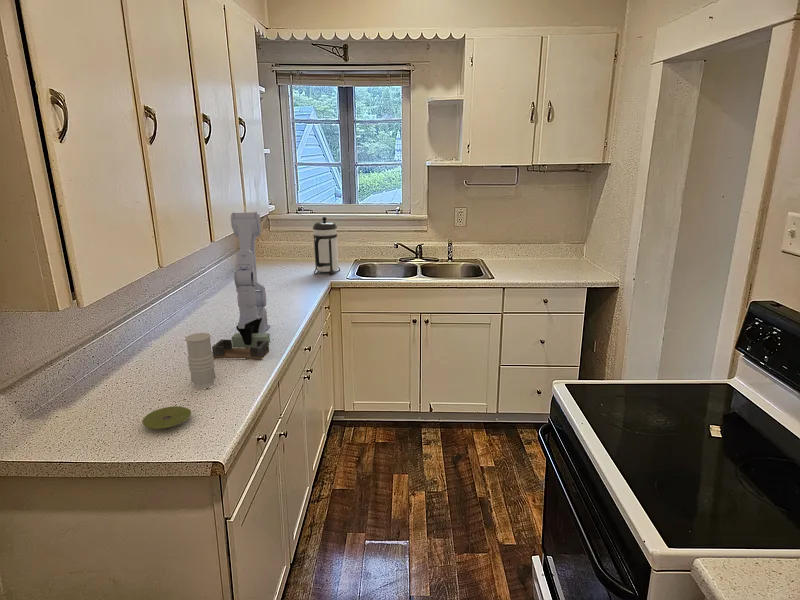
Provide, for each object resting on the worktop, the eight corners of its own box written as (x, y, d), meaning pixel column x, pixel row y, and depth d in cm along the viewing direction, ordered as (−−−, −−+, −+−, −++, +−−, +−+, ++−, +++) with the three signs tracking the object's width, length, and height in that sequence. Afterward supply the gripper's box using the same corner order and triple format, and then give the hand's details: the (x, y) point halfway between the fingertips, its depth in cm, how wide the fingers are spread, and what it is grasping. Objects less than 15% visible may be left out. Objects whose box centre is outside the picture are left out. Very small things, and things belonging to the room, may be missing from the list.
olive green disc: (178, 408, 141) (177, 401, 140) (200, 422, 134) (199, 415, 133) (135, 424, 133) (134, 418, 132) (156, 440, 126) (155, 433, 125)
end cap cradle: (222, 350, 180) (221, 339, 179) (269, 351, 178) (268, 340, 177) (213, 358, 174) (211, 347, 172) (261, 359, 172) (260, 348, 171)
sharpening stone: (236, 343, 187) (235, 333, 186) (270, 343, 186) (269, 333, 185) (232, 348, 183) (231, 337, 182) (267, 348, 182) (266, 337, 181)
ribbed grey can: (210, 378, 159) (204, 330, 155) (220, 385, 154) (214, 337, 150) (188, 384, 155) (181, 336, 150) (197, 392, 150) (190, 343, 145)
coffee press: (308, 271, 291) (304, 216, 282) (336, 268, 297) (333, 214, 289) (317, 278, 276) (313, 220, 267) (346, 274, 282) (343, 218, 274)
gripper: (250, 310, 173) (254, 349, 177) (266, 298, 187) (269, 334, 191) (230, 310, 174) (234, 348, 178) (247, 297, 188) (250, 333, 191)
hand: (251, 341), depth 184 cm, fingers open, 5 cm apart
